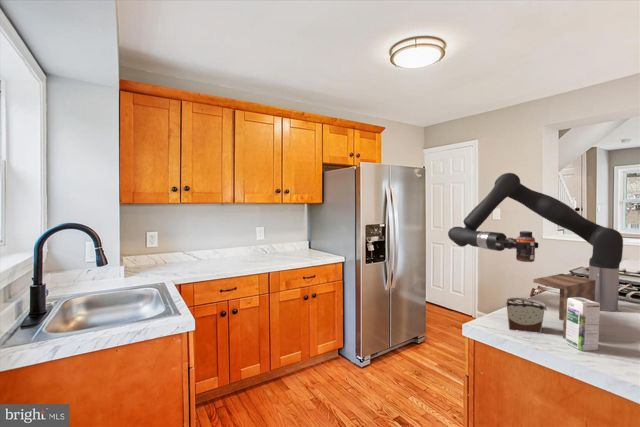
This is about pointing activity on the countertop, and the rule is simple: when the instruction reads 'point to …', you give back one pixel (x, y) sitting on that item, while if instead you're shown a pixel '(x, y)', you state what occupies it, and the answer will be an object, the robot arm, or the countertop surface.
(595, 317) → the syrup box
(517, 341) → the countertop surface
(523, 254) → the supplement bottle
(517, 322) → the food container
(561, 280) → the walnut cubby
